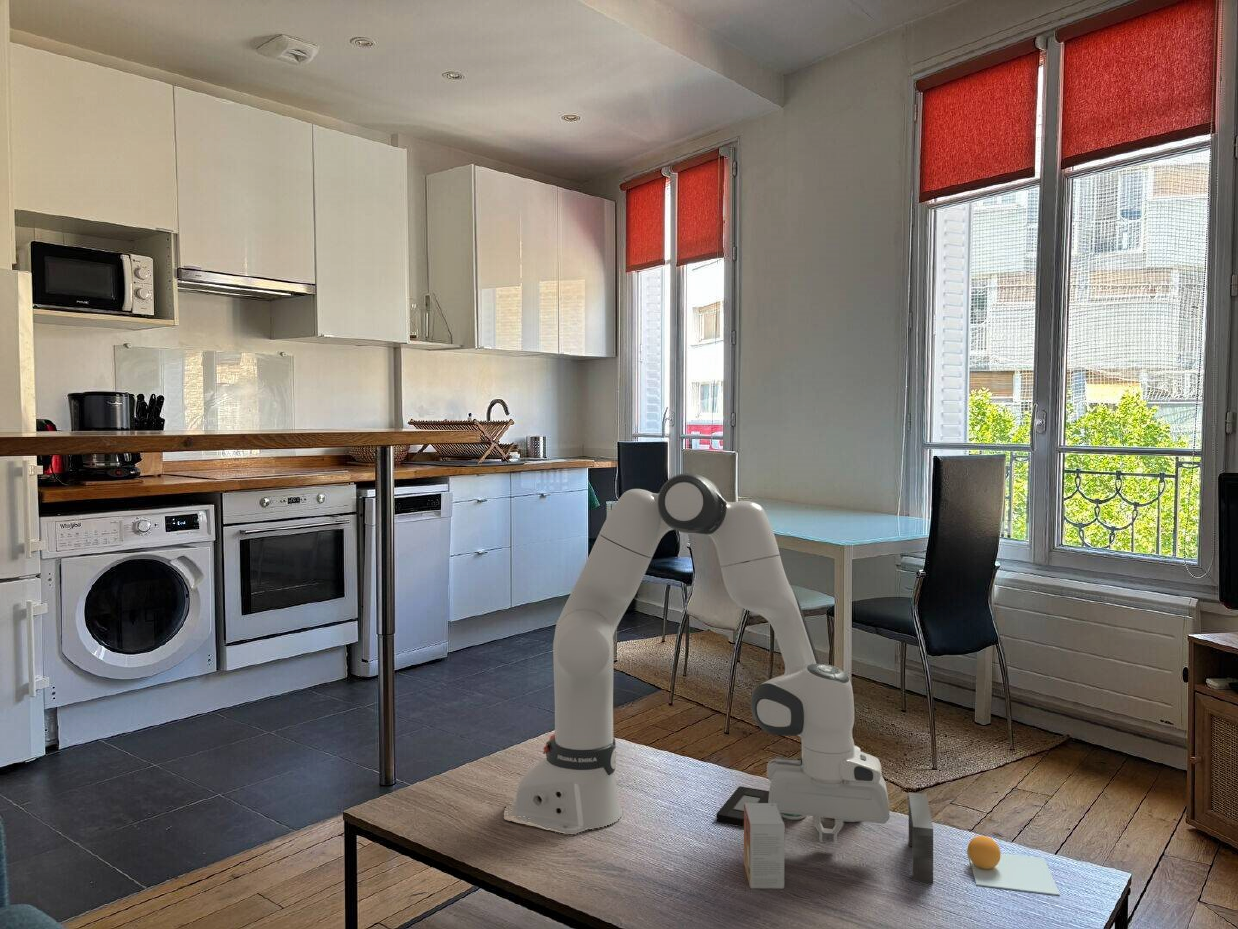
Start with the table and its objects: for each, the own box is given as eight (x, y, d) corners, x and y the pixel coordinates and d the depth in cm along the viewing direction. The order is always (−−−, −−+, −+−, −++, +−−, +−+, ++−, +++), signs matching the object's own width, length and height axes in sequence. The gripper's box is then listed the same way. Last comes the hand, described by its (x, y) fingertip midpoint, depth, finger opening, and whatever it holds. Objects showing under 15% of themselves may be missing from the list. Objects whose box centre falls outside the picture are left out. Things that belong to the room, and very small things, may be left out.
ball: (1003, 876, 138) (970, 873, 139) (998, 861, 143) (965, 858, 144) (1002, 846, 138) (969, 843, 139) (997, 831, 142) (965, 829, 144)
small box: (743, 864, 143) (743, 802, 142) (777, 864, 142) (777, 802, 142) (749, 889, 135) (749, 823, 134) (785, 889, 134) (784, 823, 134)
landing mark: (976, 885, 135) (976, 884, 135) (967, 850, 147) (967, 849, 147) (1060, 895, 132) (1060, 894, 132) (1043, 859, 143) (1043, 858, 143)
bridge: (913, 880, 137) (913, 826, 137) (908, 841, 150) (908, 792, 150) (933, 883, 136) (933, 829, 136) (926, 843, 149) (926, 794, 149)
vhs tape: (716, 824, 159) (716, 814, 159) (739, 796, 172) (739, 786, 172) (755, 832, 155) (755, 821, 155) (776, 802, 168) (776, 792, 168)
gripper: (764, 762, 147) (765, 842, 147) (889, 773, 141) (890, 856, 141) (768, 749, 153) (769, 826, 153) (888, 760, 147) (888, 839, 147)
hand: (828, 841), depth 147 cm, fingers closed
